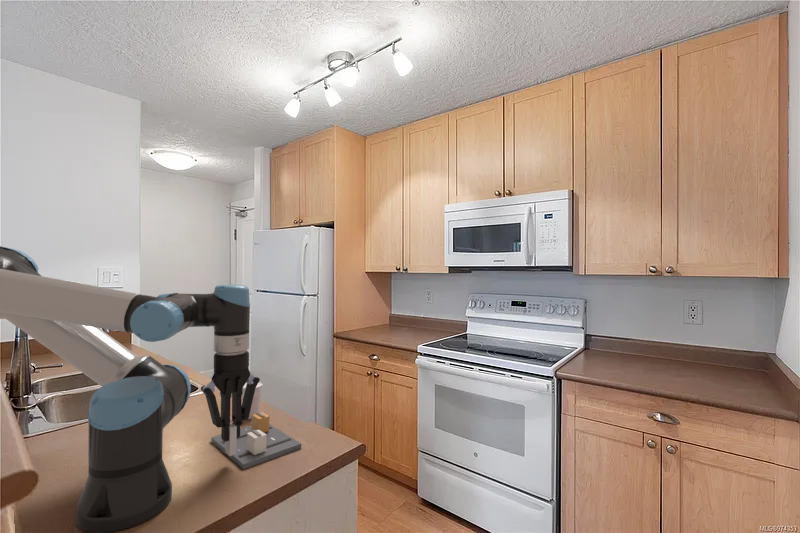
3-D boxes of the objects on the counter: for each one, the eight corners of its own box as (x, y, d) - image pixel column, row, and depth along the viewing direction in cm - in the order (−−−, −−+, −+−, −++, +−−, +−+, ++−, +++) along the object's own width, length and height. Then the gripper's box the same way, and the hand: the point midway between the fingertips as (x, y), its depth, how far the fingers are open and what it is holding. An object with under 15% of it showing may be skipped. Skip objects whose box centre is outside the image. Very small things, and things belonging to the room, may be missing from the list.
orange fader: (258, 434, 106) (258, 417, 106) (251, 429, 108) (252, 413, 108) (269, 430, 108) (269, 414, 108) (262, 426, 111) (262, 410, 110)
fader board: (243, 469, 90) (243, 463, 90) (211, 441, 104) (211, 436, 104) (301, 448, 101) (301, 443, 101) (265, 425, 114) (265, 421, 114)
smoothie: (247, 422, 116) (248, 375, 116) (235, 417, 120) (236, 371, 120) (266, 416, 121) (267, 370, 121) (254, 411, 125) (255, 366, 125)
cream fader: (254, 455, 94) (254, 436, 94) (246, 449, 97) (247, 431, 97) (266, 450, 96) (266, 432, 96) (258, 445, 99) (258, 427, 99)
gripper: (208, 359, 85) (207, 469, 85) (266, 350, 94) (264, 449, 94) (195, 353, 90) (194, 456, 90) (251, 345, 99) (250, 439, 99)
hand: (230, 452), depth 92 cm, fingers closed
